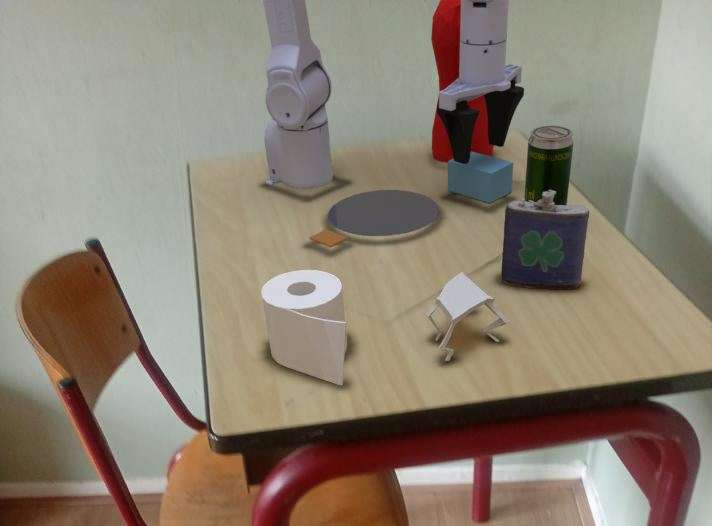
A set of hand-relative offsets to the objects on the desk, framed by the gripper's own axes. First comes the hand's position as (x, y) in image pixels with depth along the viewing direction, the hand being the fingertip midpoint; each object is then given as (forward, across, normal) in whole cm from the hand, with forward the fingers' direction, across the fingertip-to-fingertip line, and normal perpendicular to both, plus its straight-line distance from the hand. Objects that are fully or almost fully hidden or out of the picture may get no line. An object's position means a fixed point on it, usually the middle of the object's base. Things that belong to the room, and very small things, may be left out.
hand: (479, 153), depth 108 cm
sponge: (+6, 0, 0) cm, 6 cm away
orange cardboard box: (+6, -23, +6) cm, 25 cm away
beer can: (+6, -3, -13) cm, 15 cm away
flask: (+6, -15, -21) cm, 27 cm away
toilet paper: (+6, -43, -12) cm, 45 cm away
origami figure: (+6, -29, -21) cm, 36 cm away
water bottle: (+6, +10, +11) cm, 16 cm away
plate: (+6, -13, +6) cm, 15 cm away
